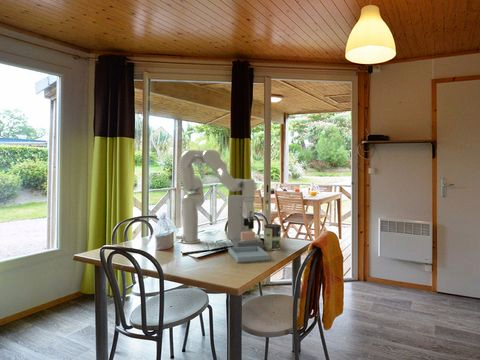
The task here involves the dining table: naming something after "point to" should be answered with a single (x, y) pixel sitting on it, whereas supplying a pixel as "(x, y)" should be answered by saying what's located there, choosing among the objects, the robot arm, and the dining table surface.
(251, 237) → the pink rectangular block
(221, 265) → the dining table surface
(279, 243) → the coffee can
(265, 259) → the tray
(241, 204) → the tall white slab
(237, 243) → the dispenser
